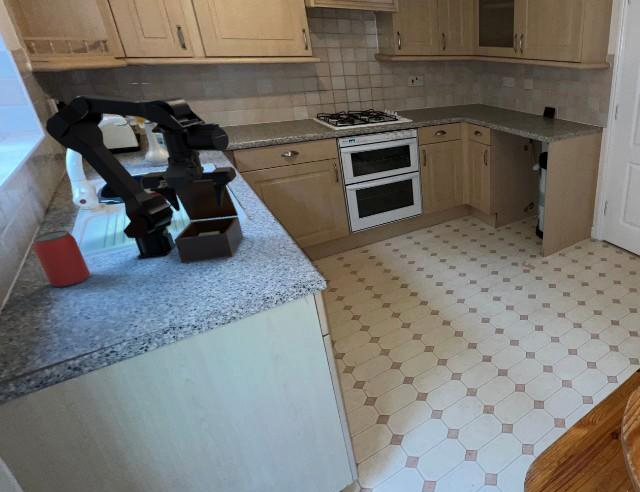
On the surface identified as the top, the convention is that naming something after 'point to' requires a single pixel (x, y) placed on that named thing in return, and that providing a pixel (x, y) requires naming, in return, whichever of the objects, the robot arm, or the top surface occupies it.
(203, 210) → the box lid
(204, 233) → the block
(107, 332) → the top surface
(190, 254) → the storage box
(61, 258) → the beer can
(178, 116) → the robot arm
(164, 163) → the flower vase
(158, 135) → the light bulb box
